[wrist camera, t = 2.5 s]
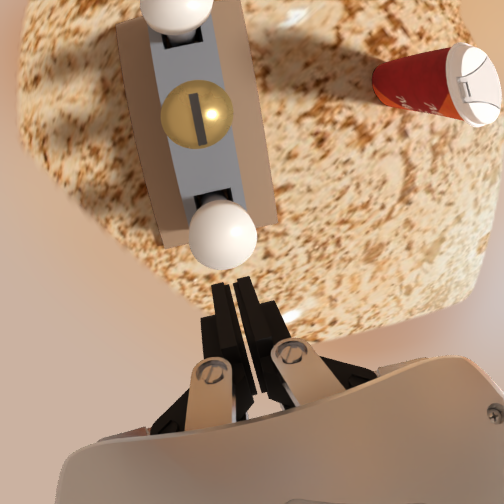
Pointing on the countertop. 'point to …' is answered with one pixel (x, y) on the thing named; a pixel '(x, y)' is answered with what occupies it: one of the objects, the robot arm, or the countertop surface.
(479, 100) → the coffee cup
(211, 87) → the pot knob
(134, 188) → the countertop surface
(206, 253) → the knob
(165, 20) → the knob
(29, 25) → the countertop surface
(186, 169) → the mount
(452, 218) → the countertop surface
